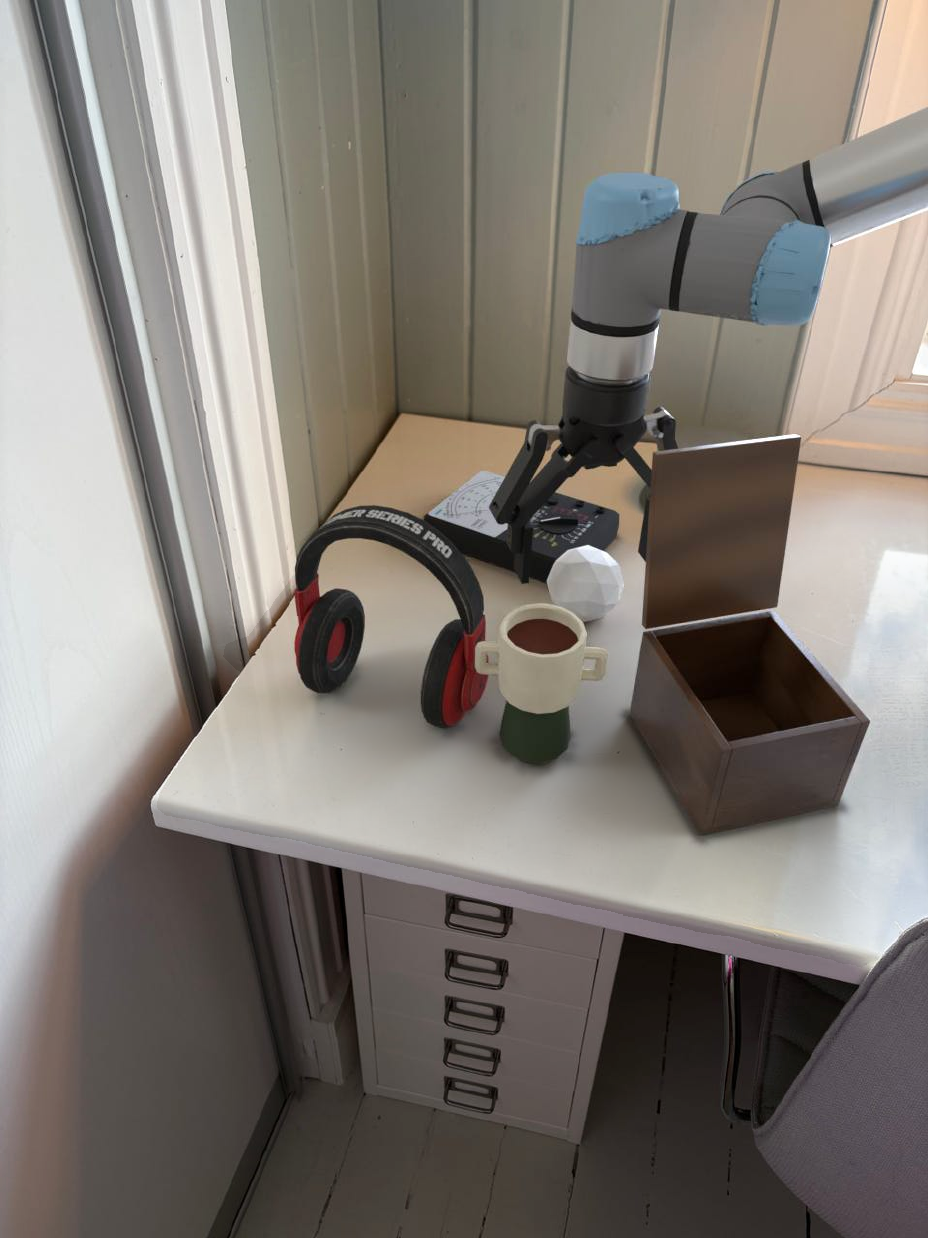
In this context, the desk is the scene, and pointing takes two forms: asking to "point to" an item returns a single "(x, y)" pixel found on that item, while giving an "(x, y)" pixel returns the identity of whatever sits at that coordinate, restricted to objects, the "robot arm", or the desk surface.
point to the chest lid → (718, 529)
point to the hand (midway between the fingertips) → (584, 567)
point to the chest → (744, 721)
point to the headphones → (340, 621)
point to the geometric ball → (586, 582)
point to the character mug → (539, 677)
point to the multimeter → (553, 523)
